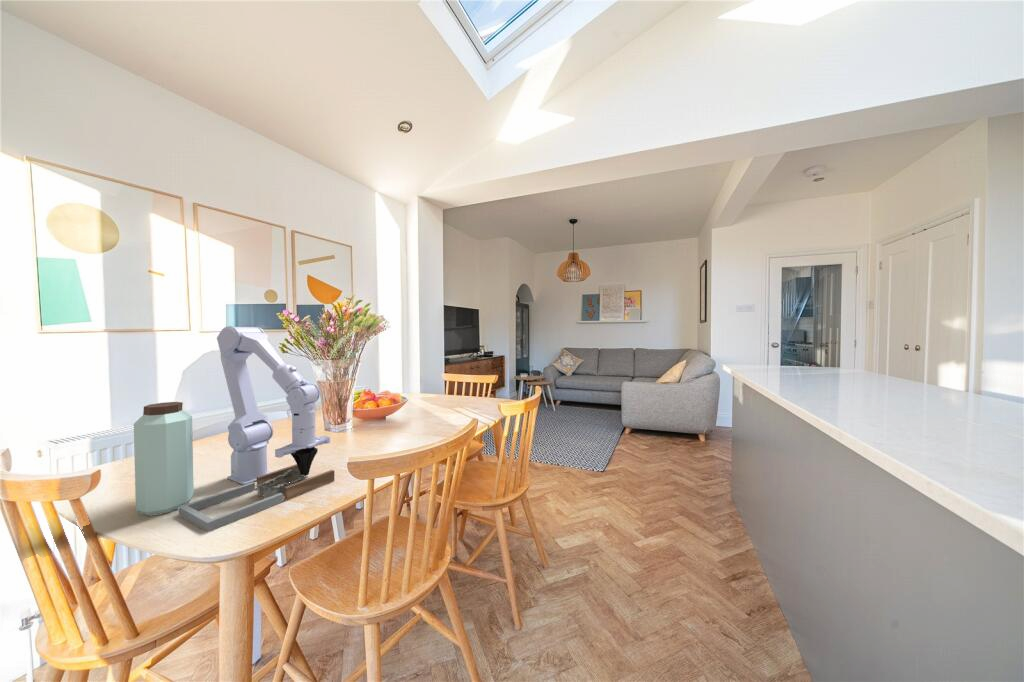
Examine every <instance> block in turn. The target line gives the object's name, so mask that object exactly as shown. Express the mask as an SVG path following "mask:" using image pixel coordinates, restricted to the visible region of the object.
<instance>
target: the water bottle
mask: <svg viewBox="0 0 1024 682" xmlns="http://www.w3.org/2000/svg"><path fill="white" fill-rule="evenodd" d="M183 404H184V403H183V401H182V402H181V401H168V402H167V401H166V402H158V403H157V402H156V403H150V404H147V405H145V406H143V414H142V415H141V416H140V417H139V418H138V419H137V420H136V421H135V422H134V423H133V446H134V447H133V451H134V455H133V456H134V488H135V493H134V494H135V510H136V511H137V512H139V513H140V514H142V515H145V516H148V515H149V517H150V515H152V516H156V515H155V514H158V515H161V514H160V513H164V514H167V513H166V512H169V513H171V512H173V511H172V510H174V511H176V510H179V509H178V508H179V506H182V505H185V504H188V503H190V501H189V500H191V499H192V498H193V497H194V495H195V494H194V491H195V490H194V489H195V488H194V486H195V485H194V448H193V447H194V445H193V442H194V440H193V416H192V415H190V414H189V413H188V412H186V411H184V409H183ZM175 509H176V510H175ZM170 511H171V512H170Z"/></svg>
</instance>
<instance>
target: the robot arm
mask: <svg viewBox="0 0 1024 682" xmlns="http://www.w3.org/2000/svg"><path fill="white" fill-rule="evenodd" d="M216 340H217V344H218V349H219V353H220V361H221V366H222V369H223V374H224V377H225V382H226V385H227V389H228V392H229V397H230V400H231V405H232V408H233V413H234V417H235V418H234V419H233V420H232V421H231V422H230V423H229V424H228V426H227V429H228V436H227V441H228V442H227V443H228V445H229V446H230V448H231V449H233V450H232V452H231V454H230V475H228V476H227V477H226V478H227V479H228V480H230V481H234V482H236V483H238V484H240V485H245V484H248V483H251V482H254V483H255V482H257V477H258V476H262V475H265V474H268V473H271V472H272V471H268V448H267V447H268V444H269V442H270V440H271V439H272V438H273V436H274V428H273V426H272V424H271V422H270V420H269V418H268V416H267V415H266V414H264V413H262V412H261V411H259V409H258V405H257V400H256V396H255V393H254V389H253V385H252V381H251V377H250V372H249V369H248V365H247V359H248V358H249V356H251V355H253V354H255V355H256V356H257V357H258V358H259V359H260V360H261V361H262V362H263V363H264V364H265V365H266V366H267V367H268V368H269V369H270V370H271V371H272V379H273V380H274V381H275V382H276V383H277V384H278V386H279V388H281V389H282V390H283V392H284V393H285V394H286V396H285V400H286V403H287V404H288V405H289V410H290V413H291V441H292V442H291V443H289V444H287V445H284V446H282V447H280V448H277V449H274V457H275V458H278V459H279V458H280V459H281V458H284V457H285V456H287V455H291V456H292V458H293V459H294V461H295V463H296V464H297V465H298V468H299V471H300V473H301V476H302V474H304V475H305V476H306V475H307V476H309V474H310V471H311V467H312V464H313V462H314V459H315V456H316V455H317V453H318V448H317V446H322V445H326V444H330V443H331V436H329V435H323V436H318V437H316V402H317V401H319V398H320V395H321V393H320V389H319V388H318V386H317V384H315V383H313V382H309V381H308V380H306V379H305V377H303V376H302V375H301V373H300V372H299V371H298V368H297V366H295V365H292V364H286V363H285V362H284V360H283V359H282V358H281V357H280V355H279V354H278V352H277V351H276V350H275V349H274V347H273V345H272V344H271V343H270V342H269V335H268V334H266V333H265V331H264V329H262V328H261V327H259V326H225V327H223V328H222V329H221V331H220V332H219V334H218V335H217V337H216Z"/></svg>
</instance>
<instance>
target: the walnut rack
mask: <svg viewBox="0 0 1024 682" xmlns="http://www.w3.org/2000/svg"><path fill="white" fill-rule="evenodd" d="M294 468H296V469H297V470H298V471H299V468H298V465H297V463H296V464H293V465H289V466H287V467H283V468H281V469H277V470H274V471H270V472H271V473H268V474H265V475H262V476H258V477H257V481H256V485H258V484H262V483H264V482H266V481H268V480H271V479H274V478H276V477H277V476H280V475H283V474H284V472H286V471H287V470H290V469H294ZM330 482H331V483H333V482H335V470H333V469H330V470H328V471H324V472H322V473H319V474H316V475H314V476H311V477H307V478H306V480H303V481H300V482H297V483H295V484H292V485H289V486H287V487H284V494H283V500H286V501H289V500H291V499H294V498H296V497H298V495H299V496H301V495H304V494H305V493H308V492H311V491H314V490H315V489H318V488H321V487H323V486H325V485H328V484H331V483H330ZM256 488H257V489H258V487H256ZM303 493H304V494H303ZM293 497H294V498H293Z"/></svg>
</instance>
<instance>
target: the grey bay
mask: <svg viewBox="0 0 1024 682" xmlns="http://www.w3.org/2000/svg"><path fill="white" fill-rule="evenodd" d="M255 485H256V482H255V481H254V482H251V483H248V484H245V485H243V484H241V485H240V486H238V487H234V488H231V489H228V490H224V491H222V492H220V493H215V494H212V495H210V496H207V497H204V498H200V499H197V500H194V501H192V502H191V501H190V502H188V503H187V504H185V505H182V506H179V509H178V516H179V515H180V517H181V518H183V519H184V518H185V520H186V521H188V522H189V523H191V524H193V525H195V526H197V527H198V528H200V529H202V530H203V531H205V532H207V533H210V532H211V531H214V529H215V530H216V529H219V527H220V528H222V527H224V526H226V525H230V524H231V523H234V522H237V521H240V520H241V519H244V518H246V517H249V516H251V515H253V514H257V513H259V512H261V511H264V510H266V509H268V508H270V507H271V508H272V507H274V506H276V505H278V504H281V503H283V502H284V494H282V493H279V494H276V495H273V496H271V497H268V498H265V499H264V498H263V499H261V500H259V501H255V502H253V503H250V504H247V505H245V506H242V507H239V508H237V509H234V510H231V511H229V512H226V513H223V514H221V515H219V516H216V517H215V516H214V517H213V518H211V517H210V516H208V515H206V514H204V513H202V512H200V511H201V510H204V509H205V508H206V507H207V508H209V506H210V507H212V506H215V505H218V504H221V503H224V502H226V501H229V500H231V499H236V498H238V497H240V495H241V496H243V495H246V494H249V493H252V492H254V491H253V490H255V491H256V486H255ZM251 491H252V492H251ZM248 492H249V493H248ZM245 493H246V494H245ZM242 494H243V495H242ZM237 496H238V497H237ZM223 501H224V502H223ZM220 502H221V503H220ZM207 508H206V509H207Z"/></svg>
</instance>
